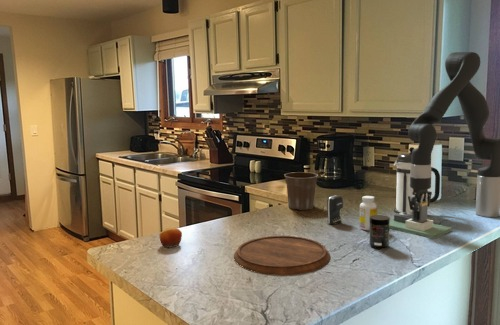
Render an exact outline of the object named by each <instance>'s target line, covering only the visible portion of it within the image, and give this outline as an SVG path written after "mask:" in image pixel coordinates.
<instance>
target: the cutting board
mask: <svg viewBox="0 0 500 325" xmlns="http://www.w3.org/2000/svg"><path fill="white" fill-rule="evenodd" d="M234 259H235V260H234ZM330 259H331V255H330V252H329V251H328V250H327V248H326V246H324V244H322V243H321V242H318V241H317V240H314V239H311V238H306V237H301V236H293V235H272V236H270V235H269V236H263V237H258V238H253V239H250V240H248V241H245V242H243V243H242V244H240V245H239V246H238V248H237V249H236V250H235V252H234V254H233V260H234V262H235V261H236V262H237V263H238V264H239V265H241V266H243V267H244V268H243V267H242V268H243V269H245V268H246V269H245V270H247V269H249V270H248V271H250V270H252V271H251V272H254V271H255V272H254V273H258V272H259V274H263V273H264V275H265V274H266V275H272V274H276V275H277V276H280V275H281V276H288V275H289V276H291V275H299V274H305V273H310V272H314V271H317V270H319V269H322V268H323V267H324V266H326V265H328V263H329V262H330ZM236 262H235V263H236ZM237 263H236V264H237ZM238 264H237V265H238ZM239 265H238V266H239ZM241 266H240V267H241Z"/></svg>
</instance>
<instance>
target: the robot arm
mask: <svg viewBox="0 0 500 325" xmlns="http://www.w3.org/2000/svg"><path fill="white" fill-rule="evenodd" d="M480 66H481V57H480V55H479V54H478V53H477V52H473V51H456V52H455V51H454V52H451V53H449V54H447V55H446V57H445V62H444V67H445V71H446V74H447V76H448V78H449V80H450V82H449V83H447V84H446V85H445V86H444V87H443V88H441V89H440V90H438V92H437V93H435V94H434V95H433V96H432V98H431V99H430V101H429V102H428V104H427V105H426V106H425V109H424V110H423V112H422V113H420V114H419V115H418V116H417V117H416V119H414V121H413V122H412V123H411V124H410V126H409V128H408V130H407V136H408V138H409V139H410V140H411V141H412V142H416V143H417V142H418V147H417V148H414V149H413V151H412V155H411V169H410V187H411V188H413V193H412V196H408V200H409V206H410V210H413V211H414V217H413V219H414V220H416V221H419V220H420V206H421V204H422V201H423V202H428V206H427V208H428V207H429V206H430V204H431V203H430V199H432V194H433V193H432V191H429V190H430V189H431V188H432V171H431V167H432V154H433V150H434V146H435V143H436V141H437V140H436V139H437V130H436V127H435V126H434V125H435V124H437V123H439V122H441V120H442V119H443V118H444V116H445V114H446V113H447V111H448V110H449V107H450V106H451V104H453V101H455V99H456V98H458V99H457V100H458V101H459V103H460V108H461V111H462V114H463V117H464V119H465V121H466V122H465V123H466V126H467V128H468V131H469V136H470V139H471V140H470V141H471V144H472V149H473V153H474V155H475V157H476V158H478V159H479V160H480V159H481V160H489V161H490V163H489V164H488V165H486V166H482V167H479V168H477V172H476V173H477V174H476V175H477V176H476V177H477V178H476V194H475V195H476V197H475V198H476V200H475V215H477V216H480V217H487V218H495V217H496V218H497V217H500V138H492V137H491V138H490V137H486V136H485V135H484V131H483V130H484V127H485V125H486V123H487V121H488V119H489V116H490V109H489V106H488V102H487V100H486V98H485V96H484V95H483V94H482V92H480V90H478V88H477V87H476V86H474V84H473V83H472V82H471V80H472V79H473V78H474V76H475V75H476V74H477V73H478V71H479V69H480ZM416 202H419V203H416ZM412 205H413V206H412ZM417 205H418V208H417Z"/></svg>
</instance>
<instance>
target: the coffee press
mask: <svg viewBox="0 0 500 325" xmlns="http://www.w3.org/2000/svg"><path fill="white" fill-rule="evenodd" d="M413 149H415V148H414V147H413V146H412V147H409V149H408V151H409V152H401V153H400V154H398V155H397V158H395V159H396V160H395V162H394V163H393V166H394V167H396V168H395V170H396V192H395V193H396V195H395V196H396V202H395V204H396V205H395V207H394V209H393V212H394V213H397V212H399V213H401V212H406V213H410V214H412V210H410V206H409V200H408V196H412V193H413V188H411V187H410V169H411V155H412V151H413ZM431 172H432V173H433V174H434V177H435V178H434V195H433V196H432V197H431V199H430V204H433V203H435V202H437V200H438V199H439V197H440V191H441V190H440V188H441V175H440V172H439V170H438V169H437V168H435V167H433V166H431ZM428 216H429V214H428V213H427V217H428Z"/></svg>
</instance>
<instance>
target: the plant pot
mask: <svg viewBox="0 0 500 325" xmlns="http://www.w3.org/2000/svg"><path fill="white" fill-rule="evenodd" d="M283 175H284V176H283V177H284V179H285V184H286V191H287V192H286V193H287V203H288V204H287V205H288V208H289V209H291V210H294V209H297V210H300V211H309V210H312V209H314V207H315V194H316V188H317V187H316V186H317V182H318V177H319V174H318V173H314V172H309V171H308V172H303V171H297V172H288V173H284V174H283ZM308 209H309V210H308Z"/></svg>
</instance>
